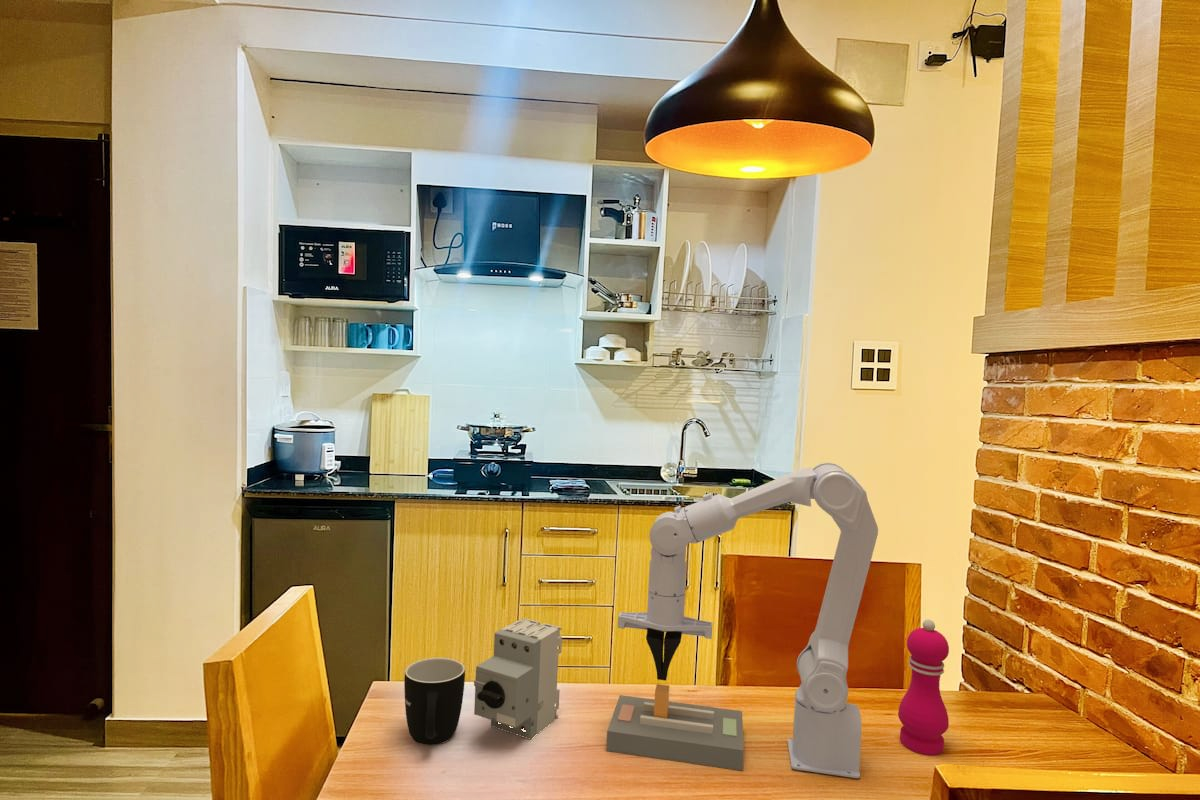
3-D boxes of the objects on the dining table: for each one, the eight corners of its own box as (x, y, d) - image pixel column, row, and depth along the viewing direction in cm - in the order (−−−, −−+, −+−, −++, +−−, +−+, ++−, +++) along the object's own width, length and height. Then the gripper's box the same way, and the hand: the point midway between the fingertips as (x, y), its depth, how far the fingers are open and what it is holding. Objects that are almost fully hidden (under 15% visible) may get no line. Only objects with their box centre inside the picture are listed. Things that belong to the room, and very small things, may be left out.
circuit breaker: (466, 743, 102) (470, 645, 102) (520, 705, 115) (524, 617, 115) (507, 758, 99) (511, 656, 99) (558, 717, 112) (562, 626, 111)
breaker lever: (668, 713, 108) (669, 685, 108) (666, 722, 105) (667, 693, 105) (655, 712, 108) (656, 684, 108) (653, 720, 106) (654, 691, 105)
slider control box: (741, 729, 110) (742, 705, 110) (742, 770, 99) (744, 743, 99) (619, 712, 114) (620, 689, 114) (606, 750, 102) (607, 724, 102)
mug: (405, 720, 108) (408, 657, 108) (463, 718, 110) (466, 656, 110) (396, 763, 97) (398, 693, 96) (460, 760, 98) (463, 691, 98)
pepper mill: (941, 737, 111) (949, 615, 110) (951, 761, 104) (960, 631, 103) (893, 729, 113) (900, 609, 112) (900, 752, 106) (908, 624, 105)
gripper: (714, 588, 109) (710, 672, 109) (624, 579, 111) (620, 661, 112) (713, 602, 102) (708, 692, 102) (617, 592, 104) (613, 679, 105)
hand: (662, 677), depth 107 cm, fingers closed
